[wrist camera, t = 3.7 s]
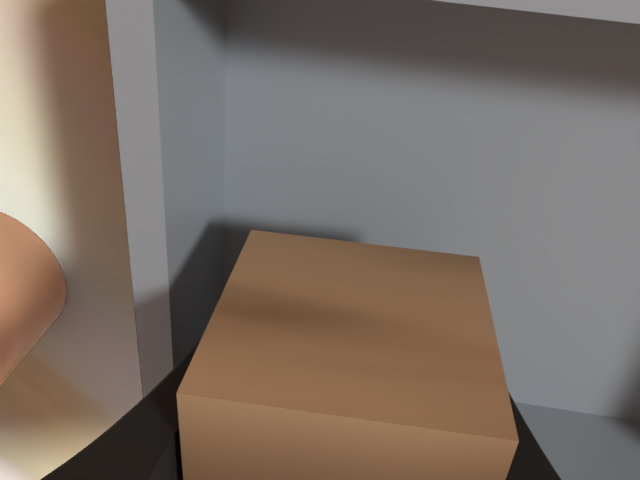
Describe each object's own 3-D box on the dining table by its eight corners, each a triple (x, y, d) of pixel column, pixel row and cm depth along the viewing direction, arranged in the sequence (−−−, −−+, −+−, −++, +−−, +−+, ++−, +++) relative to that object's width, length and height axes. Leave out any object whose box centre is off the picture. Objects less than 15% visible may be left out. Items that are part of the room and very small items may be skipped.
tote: (736, 442, 19) (833, 601, 15) (205, 358, 20) (150, 483, 16) (1039, -9, 12) (1394, 44, 8) (197, -99, 13) (95, -97, 9)
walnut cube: (439, 419, 15) (454, 625, 11) (250, 393, 15) (191, 582, 11) (479, 256, 13) (518, 441, 8) (250, 230, 13) (176, 393, 9)
